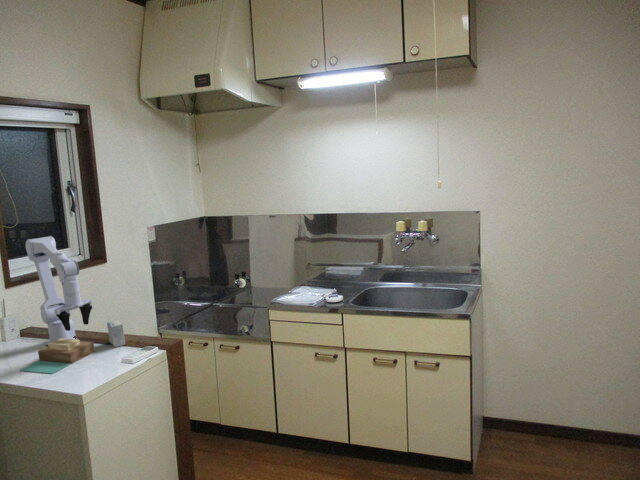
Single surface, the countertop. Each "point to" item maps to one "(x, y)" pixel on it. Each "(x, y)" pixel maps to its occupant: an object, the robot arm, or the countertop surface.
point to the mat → (45, 367)
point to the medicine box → (116, 333)
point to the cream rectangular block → (64, 344)
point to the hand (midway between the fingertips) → (77, 327)
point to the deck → (66, 353)
